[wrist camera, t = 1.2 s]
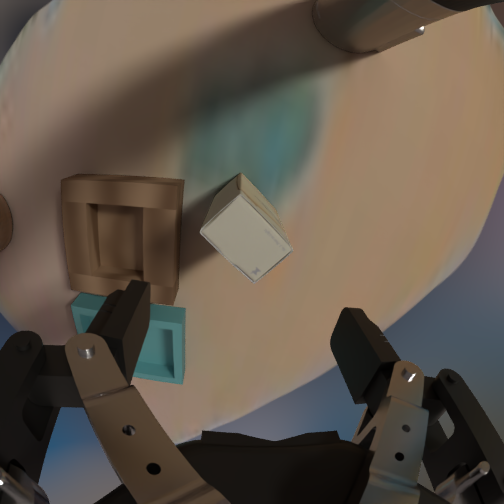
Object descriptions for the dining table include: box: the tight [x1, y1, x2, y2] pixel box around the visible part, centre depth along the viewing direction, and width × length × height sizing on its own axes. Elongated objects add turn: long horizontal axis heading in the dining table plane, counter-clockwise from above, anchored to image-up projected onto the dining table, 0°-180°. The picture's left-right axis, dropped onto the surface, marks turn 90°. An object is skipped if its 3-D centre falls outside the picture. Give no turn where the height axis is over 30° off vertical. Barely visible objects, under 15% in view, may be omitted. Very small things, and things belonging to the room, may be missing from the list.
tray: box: [71, 293, 186, 384], centre depth 37 cm, size 16×12×4 cm
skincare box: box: [200, 173, 293, 284], centre depth 27 cm, size 6×4×12 cm
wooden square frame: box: [61, 174, 184, 305], centre depth 31 cm, size 14×14×4 cm
